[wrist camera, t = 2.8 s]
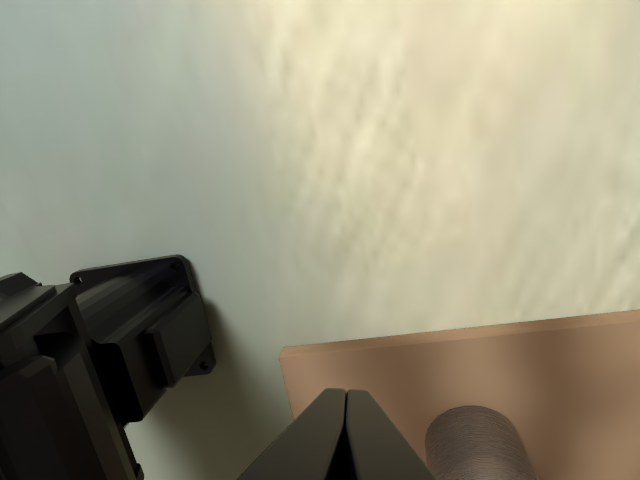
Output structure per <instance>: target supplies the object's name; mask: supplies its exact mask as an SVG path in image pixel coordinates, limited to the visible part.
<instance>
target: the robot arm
mask: <svg viewBox="0 0 640 480" xmlns="http://www.w3.org/2000/svg"><path fill="white" fill-rule="evenodd" d="M174 262H177V263H178V264H179V265H180V269H178V268H176V267H175V265H174ZM79 277H80V278H81V279H82V280H83V283H82V282H81V281H80V279H79ZM211 339H212V337H211V333H210V330H209V326H208V323H207V319H206V316H205V312H204V309H203V305H202V301H201V298H200V296H199V295H198V294H197V293H196V289H195V286H194V282H193V279H192V275H191V272H190V268H189V265H188V262H187V260H186V258H185V257H184V256H181V255H170V256H164V257H158V258H151V259H145V260H139V261H132V262H126V263H120V264H113V265H107V266H101V267H95V268H88V269H82V270H79V271H76V272H74V273H72V274H71V276H70V283H67V284H61V285H47V286H42V283H37V282H36V281H34V280H33V279H31V278H30V277H28V276H26V275H25V274H23V273H22V272H20V273H14V274H9V275H6V276H3V277H1V278H0V480H144V473H143V470H142V468H141V465H140V464H138V463H137V462H136V460H135V457H134V454H133V452H132V449H131V446H130V444H129V441H128V438H127V436H126V433H125V430H124V428H125V427H126V426H127V425H128V424H129V422H139V421H142V420H143V418H144V417H145V416H146V415H147V413H148V412H149V411H150V410H151V409H152V407H153V406H154V405H155V404H156V402H157V401H158V400H159V399H160V398H161V396H162V395H163V394H164V393H165V392H166V390H167V389H169V388H173V387H174V386H175V385H176V384H177V383H178V381H179V380H180V379H181V378H182V377H184V376H194V375H204V374H209V373H210V372H212V370H213V369H214V367H215V365H216V360H215V357H214V353H213V349H212V346H211V342H210V341H211ZM202 361H203V362H206V363H207V364H208V366H206V365H204V364H203V362H202ZM237 480H438V479H437V478H436V476H435V475H434V474H433V473H432V471H431V470H430V469H429V467H428V466H427V465H426V464H425V462H424V461H423V460H422V458H421V457H420V456H419V455H418V453H417V452H416V451H415V449H414V448H413V447H412V446H411V444H410V443H409V442H408V440H407V439H406V438H405V437H404V435H403V434H402V433H401V432H400V430H399V429H398V428H397V426H396V425H395V424H394V423H393V421H392V420H391V419H390V417H389V416H388V415H387V414H386V412H385V411H384V410H383V408H382V407H381V406H380V405H379V403H378V402H377V401H376V399H375V398H374V397H373V396H372V394H371V393H370V392H369V391H368V390H364V389H349V390H348V391H347V392H346V390H345V389H343V388H326V389H324V390H323V391H322V392H321V393H320V394H319V395H318V396H317V397H316V398H315V399H314V400H313V401H312V403H311V404H310V405H309V406H308V407H307V408H306V409H305V410H304V411H303V412H302V413H301V414H300V415H299V416H298V417H297V418H296V419H295V420H294V421H293V422H292V423H291V424H290V425H289V426H288V427H287V428H286V429H285V430H284V431H283V432H282V433H281V434H280V435H279V436H278V438H277V439H276V440H275V441H274V442H273V443H272V444H271V445H270V446H269V447H268V448H267V449H266V450H265V451H264V452H263V453H262V454H261V455H260V456H259V457H258V458H257V459H256V460H255V461H254V462H253V463H252V464H251V465H250V466H249V467H248V468H247V469H246V470H245V471H244V472H243V474H242V475H241V476H240V477H239V478H238V479H237Z"/></svg>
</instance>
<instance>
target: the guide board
mask: <svg viewBox="0 0 640 480" xmlns="http://www.w3.org/2000/svg"><path fill="white" fill-rule="evenodd" d="M279 361H280V365H281V369H282V373H283V378H284V382H285V386H286V390H287V394H288V398H289V402H290V406H291V411H292V415H293V419H294V420H295V419H296V418H297V417H298V416H299V415H300V414H301V413H302V412H303V411H304V410H305V409H306V408H307V407H308V406H309V405H310V404H311V403H312V401H313V400H314V399H315V398H316V397H317V396H318V395H319V394H320V393H321V392H322V391H323V390H324V389H326V388H343V389H345V390H346V392H347V391H348V390H349V389H364V390H368V391H369V392H370V393H371V394H372V396H373V397H374V398H375V399H376V401H377V402H378V403H379V405H380V406H381V407H382V408H383V410H384V411H385V412H386V414H387V415H388V416H389V417H390V419H391V420H392V421H393V423H394V424H395V425H396V426H397V428H398V429H399V430H400V432H401V433H402V434H403V435H404V437H405V438H406V439H407V440H408V442H409V443H410V444H411V446H412V447H413V448H414V449H415V451H416V452H417V453H418V455H419V456H420V457H421V458H422V460H423V461H424V462H425V464H426V465H427V460H426V452H425V436H426V432H427V430H428V428H429V426H430V424H431V423H432V422H433V421H434V419H436V418H437V417H438V416H439V415H440V414H442V413H443V412H445V411H447V410H450V409H452V408H455V407H459V406H467V405H475V406H482V407H487V408H490V409H493V410H495V411H497V412H499V413H501V414H502V415H504V416H505V417H506V418H508V419H509V420H510V421H511V422H512V423H513V425H514V426H515V428H516V429H517V431H518V433H519V436H520V438H521V440H522V443H523V445H524V447H525V449H526V452H527V454H528V456H529V459H530V461H531V463H532V465H533V468H534V470H535V472H536V475H537V477H538V479H539V480H640V310H632V311H623V312H614V313H604V314H595V315H585V316H576V317H566V318H557V319H548V320H538V321H529V322H519V323H510V324H500V325H491V326H481V327H472V328H463V329H453V330H444V331H434V332H425V333H415V334H406V335H396V336H387V337H378V338H368V339H359V340H349V341H340V342H330V343H321V344H311V345H302V346H293V347H283V349H282V352H281V354H280V356H279Z"/></svg>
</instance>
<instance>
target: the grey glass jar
mask: <svg viewBox="0 0 640 480" xmlns="http://www.w3.org/2000/svg"><path fill="white" fill-rule="evenodd" d="M425 452H426V460H427V466H428V467H429V469H430V470H431V471H432V473H433V474H434V475H435V476H436V478H437V479H438V480H539V479H538V477H537V475H536V472H535V470H534V468H533V465H532V463H531V461H530V459H529V456H528V454H527V452H526V449H525V447H524V445H523V443H522V440H521V438H520V436H519V433H518V431H517V429H516V428H515V426H514V425H513V423H512V422H511V421H510V420H509V419H508V418H506V417H505V416H504V415H502V414H501V413H499V412H497V411H495V410H493V409H490V408H487V407H482V406H475V405H467V406H459V407H455V408H452V409H450V410H447V411H445V412H443V413H442V414H440V415H439V416H438V417H437V418H436V419H434V421H433V422H432V423H431V424H430V426H429V428H428V430H427V432H426V436H425Z"/></svg>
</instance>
